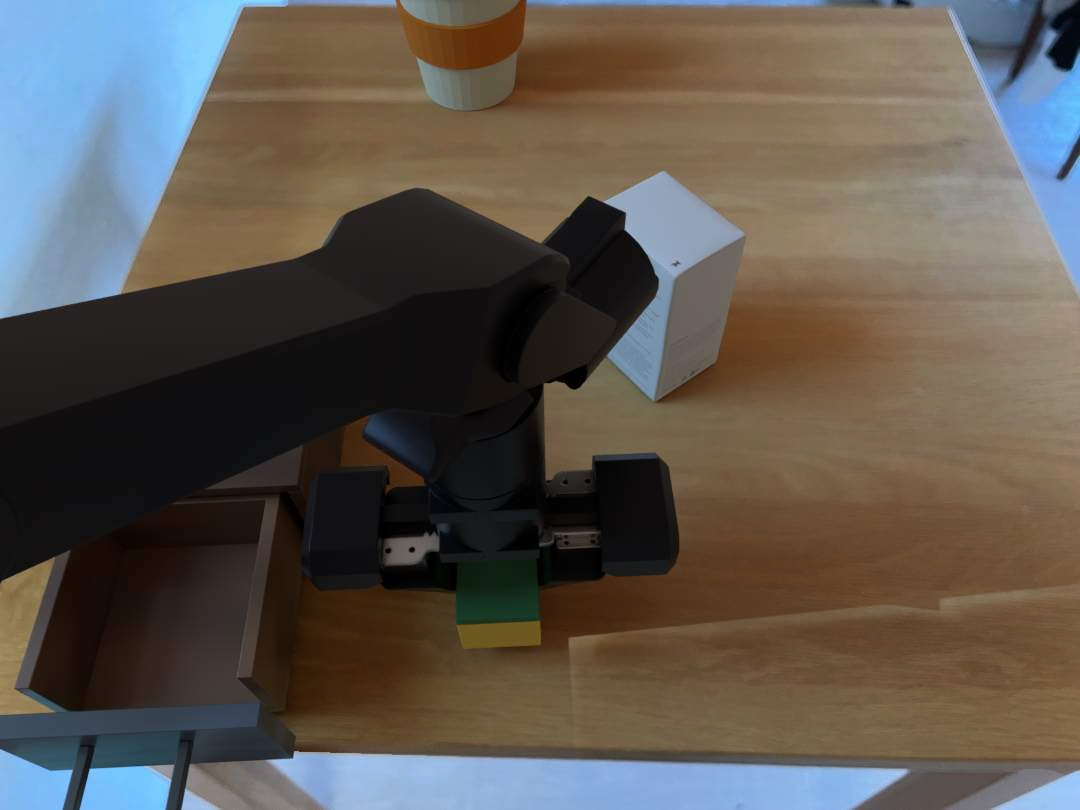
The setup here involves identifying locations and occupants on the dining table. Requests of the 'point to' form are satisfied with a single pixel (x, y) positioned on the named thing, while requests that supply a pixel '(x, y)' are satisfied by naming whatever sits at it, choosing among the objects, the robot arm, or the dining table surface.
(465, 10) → the reusable coffee cup
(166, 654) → the drawer
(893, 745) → the dining table surface
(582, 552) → the robot arm
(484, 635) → the sponge
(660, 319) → the small box
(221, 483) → the cabinet
